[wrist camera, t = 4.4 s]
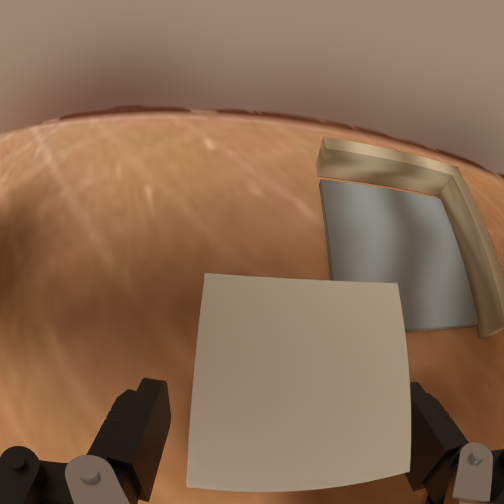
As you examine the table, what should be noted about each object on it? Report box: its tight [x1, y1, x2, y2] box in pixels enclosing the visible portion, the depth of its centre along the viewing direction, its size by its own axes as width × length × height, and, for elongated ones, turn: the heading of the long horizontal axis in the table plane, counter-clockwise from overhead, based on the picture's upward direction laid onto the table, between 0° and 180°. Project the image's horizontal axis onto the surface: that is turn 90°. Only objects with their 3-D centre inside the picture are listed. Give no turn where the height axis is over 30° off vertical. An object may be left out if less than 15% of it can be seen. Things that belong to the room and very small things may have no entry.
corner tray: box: [316, 137, 504, 338], centre depth 19 cm, size 14×16×3 cm
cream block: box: [186, 273, 411, 492], centre depth 10 cm, size 5×5×10 cm
